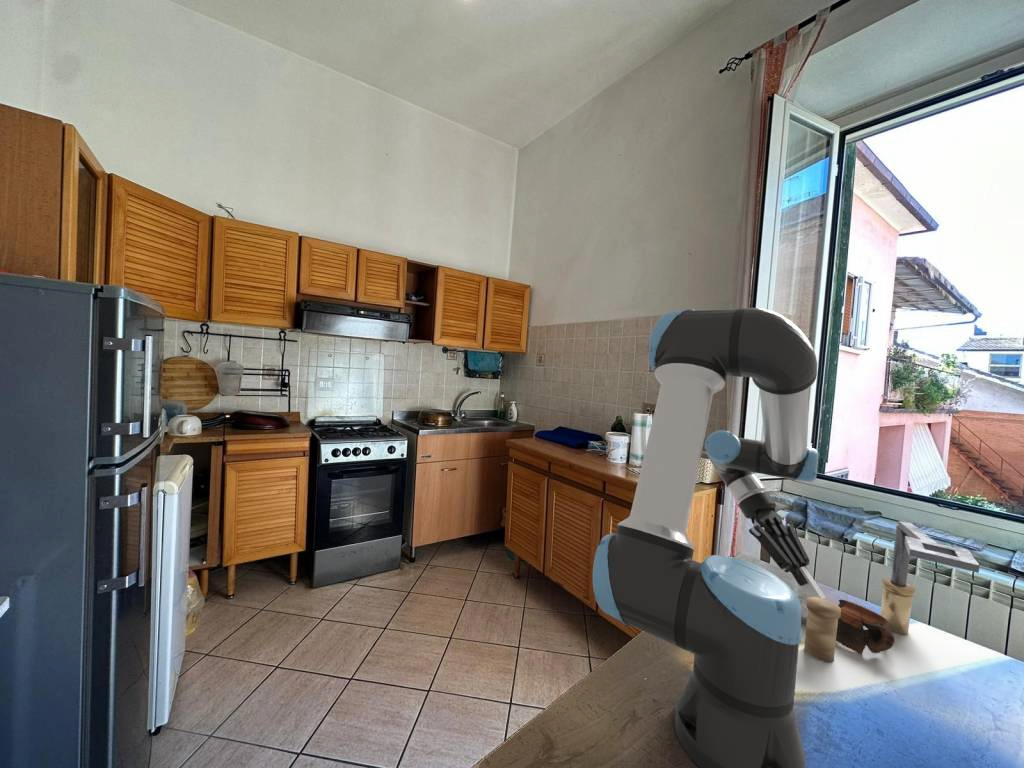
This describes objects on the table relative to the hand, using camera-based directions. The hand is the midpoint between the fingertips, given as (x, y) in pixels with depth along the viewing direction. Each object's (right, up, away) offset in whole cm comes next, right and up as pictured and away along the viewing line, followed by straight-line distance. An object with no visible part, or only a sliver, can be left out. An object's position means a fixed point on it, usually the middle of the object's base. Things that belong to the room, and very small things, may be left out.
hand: (818, 600), depth 88 cm
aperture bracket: (+11, -5, -10) cm, 15 cm away
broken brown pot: (+2, -5, -8) cm, 10 cm away
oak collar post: (-9, -4, -12) cm, 15 cm away
